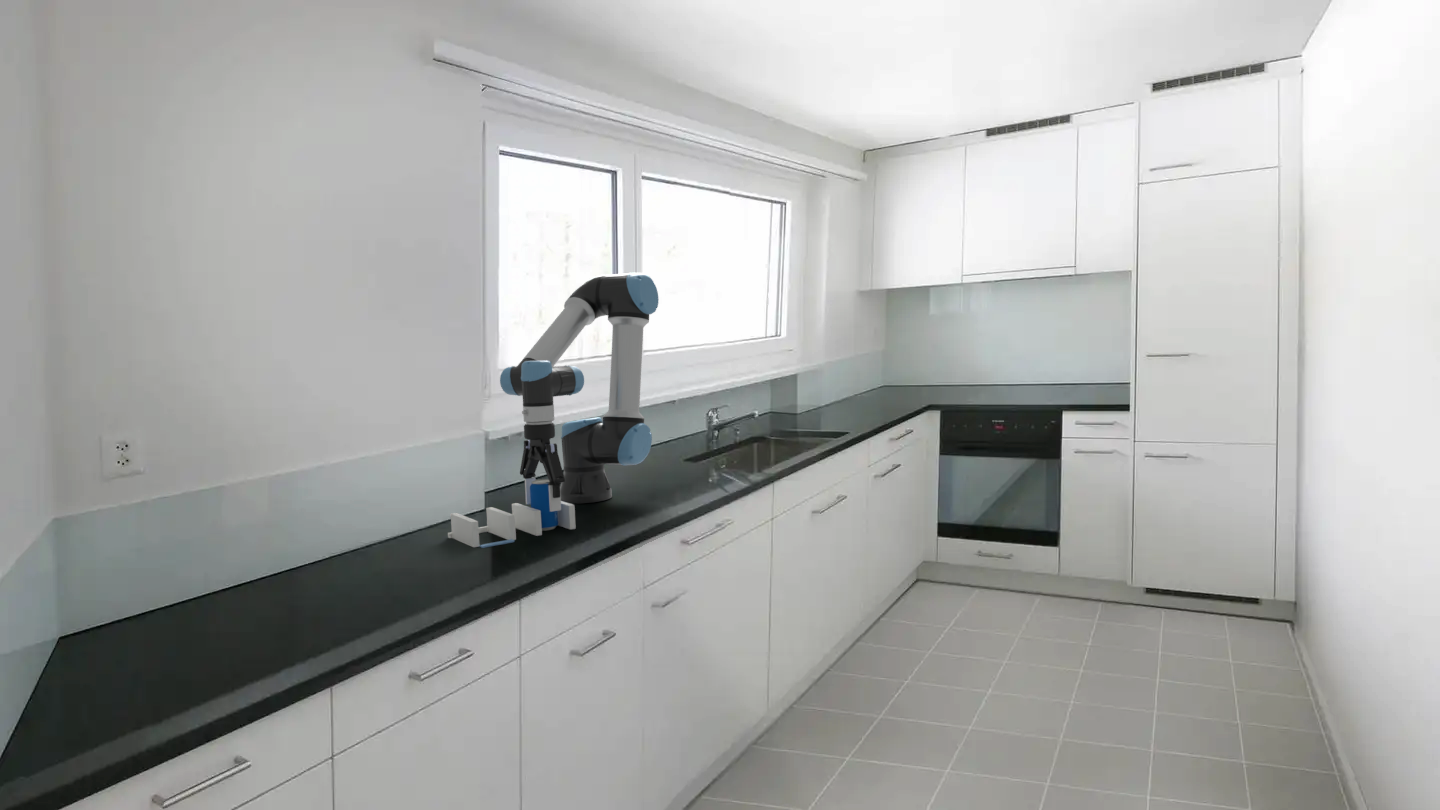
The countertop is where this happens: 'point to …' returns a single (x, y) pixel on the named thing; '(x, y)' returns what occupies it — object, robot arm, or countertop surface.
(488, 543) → the blue bezel
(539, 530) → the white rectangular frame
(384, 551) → the countertop surface
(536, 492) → the beverage can
